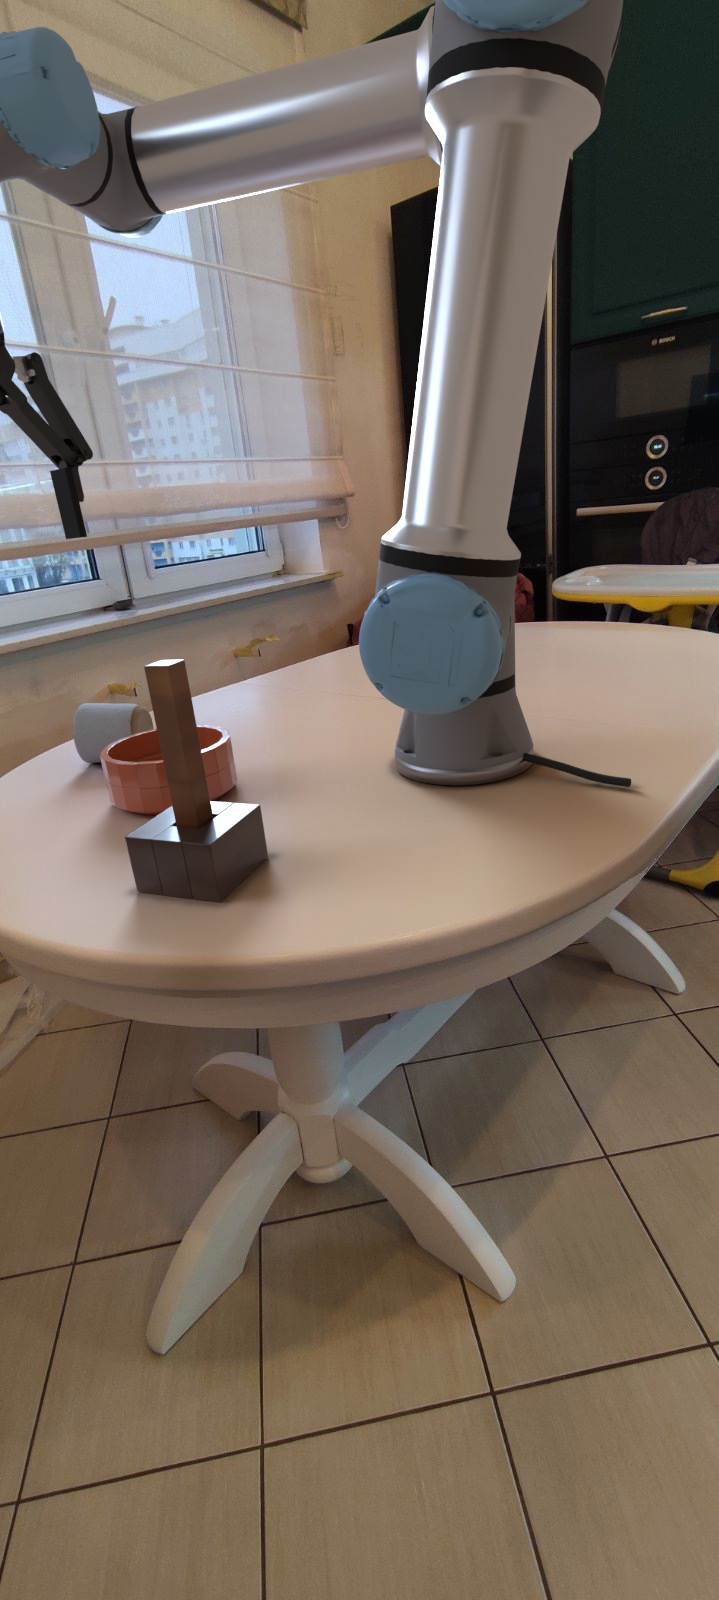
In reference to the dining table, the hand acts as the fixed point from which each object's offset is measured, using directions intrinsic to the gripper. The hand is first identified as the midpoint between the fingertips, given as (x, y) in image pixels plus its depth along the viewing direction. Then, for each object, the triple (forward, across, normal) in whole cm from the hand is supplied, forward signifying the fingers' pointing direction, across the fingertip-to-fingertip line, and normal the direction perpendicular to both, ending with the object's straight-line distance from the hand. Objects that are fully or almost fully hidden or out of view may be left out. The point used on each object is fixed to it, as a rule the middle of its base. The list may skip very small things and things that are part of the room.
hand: (14, 545), depth 70 cm
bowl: (+27, -7, +8) cm, 29 cm away
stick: (+27, +5, +26) cm, 38 cm away
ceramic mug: (+27, -13, -10) cm, 32 cm away
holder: (+27, +5, +26) cm, 38 cm away
